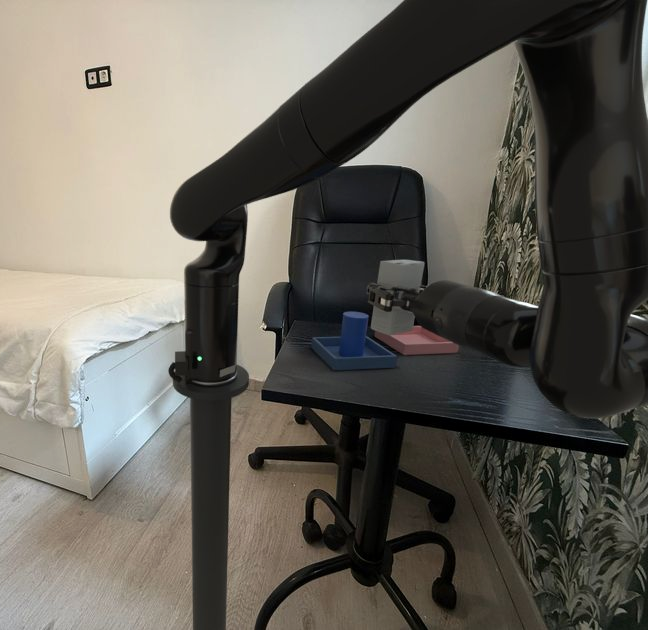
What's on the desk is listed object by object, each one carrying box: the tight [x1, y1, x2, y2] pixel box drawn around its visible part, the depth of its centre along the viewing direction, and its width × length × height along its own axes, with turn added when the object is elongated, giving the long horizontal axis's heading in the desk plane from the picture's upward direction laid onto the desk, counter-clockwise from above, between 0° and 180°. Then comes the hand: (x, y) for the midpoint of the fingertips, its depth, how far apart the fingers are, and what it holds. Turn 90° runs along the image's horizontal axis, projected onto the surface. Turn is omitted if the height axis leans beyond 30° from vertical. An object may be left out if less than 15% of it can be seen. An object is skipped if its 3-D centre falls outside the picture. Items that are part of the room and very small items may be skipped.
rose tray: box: [374, 325, 460, 356], centre depth 85 cm, size 13×12×2 cm
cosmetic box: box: [370, 259, 425, 335], centre depth 60 cm, size 6×4×12 cm
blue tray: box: [310, 335, 398, 371], centre depth 76 cm, size 13×12×2 cm
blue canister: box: [339, 311, 370, 357], centre depth 75 cm, size 5×5×9 cm
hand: (390, 288), depth 62 cm, fingers closed on cosmetic box, 7 cm apart
